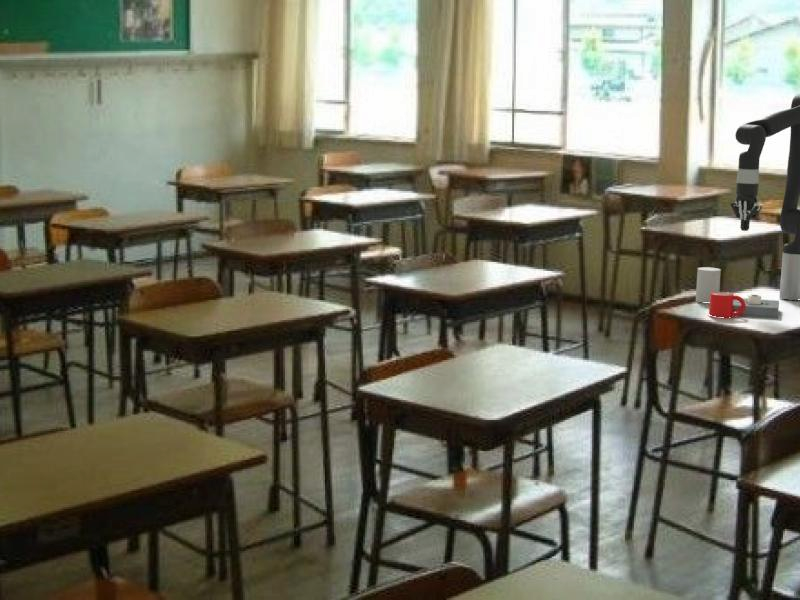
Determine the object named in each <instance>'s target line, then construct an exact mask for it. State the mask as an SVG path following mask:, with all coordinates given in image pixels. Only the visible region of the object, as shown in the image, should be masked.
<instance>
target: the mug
mask: <svg viewBox="0 0 800 600" xmlns="http://www.w3.org/2000/svg"><path fill="white" fill-rule="evenodd" d="M742 298H743V297H741V296H740V295H734V293H732V292H728V291H727V292H725V291H719V292H711V293H710V304H708V305H709V307H708V308H709V309H708V315H709V314H710V315H712V316H716V317H724V318H723V319H730V318H729V317H732V318H733V317H738V316H739V315H741V314H742V313H743V312H744V311H745V308H746V304H745V301H744V300H743V299H742ZM734 300H738V301H739V302H740V303H741V309H740V310H739V311H738V312H733V301H734ZM739 317H740V316H739Z"/></svg>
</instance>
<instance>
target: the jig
mask: <svg viewBox="0 0 800 600" xmlns="http://www.w3.org/2000/svg"><path fill="white" fill-rule="evenodd" d="M741 298H742V299H743V300H744V301H745V304H746V308H745V311H744V312H743V313H742V314H741V315H739V317H751V318H764V319H766V318H767V319H778V317H779V307H780V301H779V300H775V299H774V300H773V299H761V304H748V298H743V297H741ZM740 309H741V303H740V302H739V301H738V300H734V301H733V312H738V311H739V310H740Z"/></svg>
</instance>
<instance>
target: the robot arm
mask: <svg viewBox="0 0 800 600" xmlns="http://www.w3.org/2000/svg"><path fill="white" fill-rule="evenodd" d="M789 128H790V137H789V138H790V139H789V150H788V151H789V152H788V159H787V167H786V168H787V169H786V181H785V188H784V189H785V190H784V195H783V202H782V206H781V210H780V219H779V226H780V227H779V228H780V231H782V232H783V233H785V234H788V235H794V240H793V241H791V242H789V243H788V242H787V243H785V244H783V246H782V258H781V273H780V283H779V284H780V285H779V287H780V288H779V297H780V298H782V299H781V300H784V299H788V300H787V301H792V300H798V299H800V209H798V203H799V199H800V92H799V93H797V94H795V96H794V97H793V99H792V101H791V105H790V108H787V109H783V110H779V111H776V112H773V113H770V114H769V115H766V116H764V117H762V118H761V119H757V120H753V121H748V122H745V123H743V124H741V125H740V126H738V128H737V129H736V132H735V135H734V136H735V140H736V141H737V143H739V144H741V145H744V146H745V145H746V146H748V149H747V150H746V151H743V152H741V153H739V156H738V167H737V170H738V171H737V173H736V174H737V175H736V187H735V188H736V190H735V194H736V199H735V201H734V202H731V203H730V206H731V208H732V210H733V213H734V215H735V217H736V218H738V219H739V220H740V229H741V231H744V232H747V231H749V229H750V224H751V223H750V221H751V220H752V219H753V220H754V219H756V217H757V216H758V214H759V213H760V212H761V210H762V208H763V206H762V205H759V204H758V199H757V197H758V195H759V183H760V173H759V172H760V158H761V155H762V153H763V148H764V146H765V143H766V140H767V138H769V137H771V136H775V135H776V134H778V133H781V132H782V131H784V130H786V129H789ZM780 298H779V299H780Z"/></svg>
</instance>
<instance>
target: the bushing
mask: <svg viewBox="0 0 800 600" xmlns="http://www.w3.org/2000/svg"><path fill="white" fill-rule="evenodd" d="M747 299H748V304H761V300H762V296H761V295H758V294H748V296H747Z"/></svg>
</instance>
